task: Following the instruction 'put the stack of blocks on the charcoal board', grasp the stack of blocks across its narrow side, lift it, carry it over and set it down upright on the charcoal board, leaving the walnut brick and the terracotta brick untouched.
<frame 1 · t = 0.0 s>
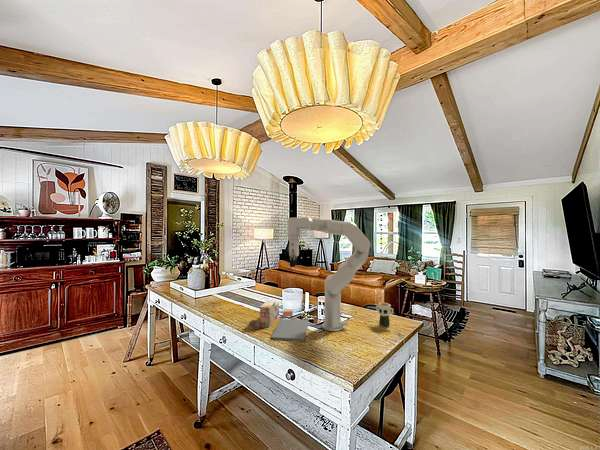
hand: (293, 265, 161), 37 cm above the table, tool pointing down, fingers open, 9 cm apart
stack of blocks: (270, 321, 169), on the table
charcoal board: (291, 330, 154), on the table
beige and green figurine: (384, 325, 163), on the table
terracotta brick: (287, 316, 178), on the table
walnut brick: (255, 327, 157), on the table
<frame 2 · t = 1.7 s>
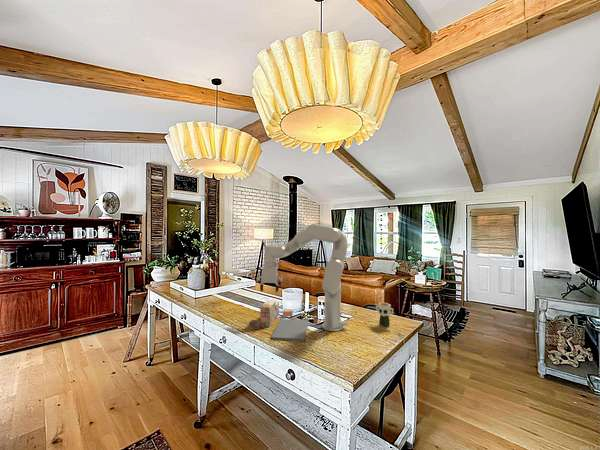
hand: (269, 291, 169), 19 cm above the table, tool pointing down, fingers open, 9 cm apart
nothing on the table moved.
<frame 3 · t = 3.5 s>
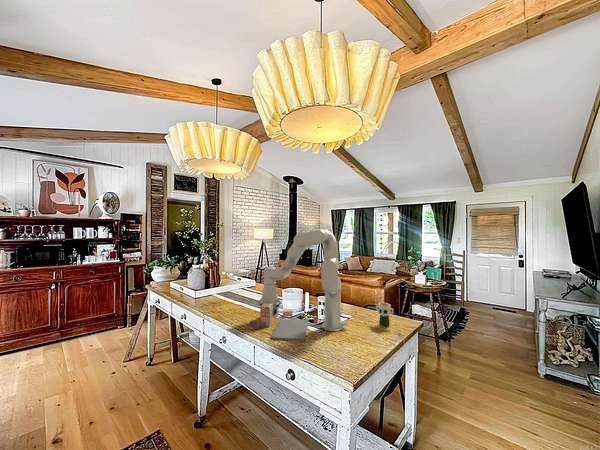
hand: (269, 314, 169), 4 cm above the table, tool pointing down, fingers closed on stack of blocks, 6 cm apart
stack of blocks: (269, 320, 169), on the table, touching gripper
everything else where it was.
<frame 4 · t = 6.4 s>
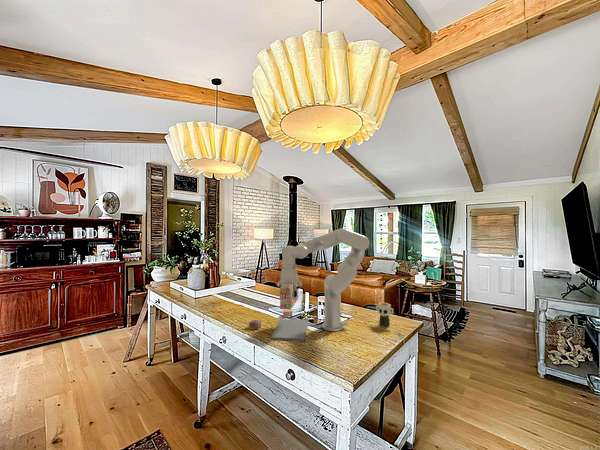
hand: (289, 296, 156), 19 cm above the table, tool pointing down, fingers closed on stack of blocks, 6 cm apart
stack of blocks: (289, 304, 157), point 14 cm above the table, touching gripper
everything else where it was.
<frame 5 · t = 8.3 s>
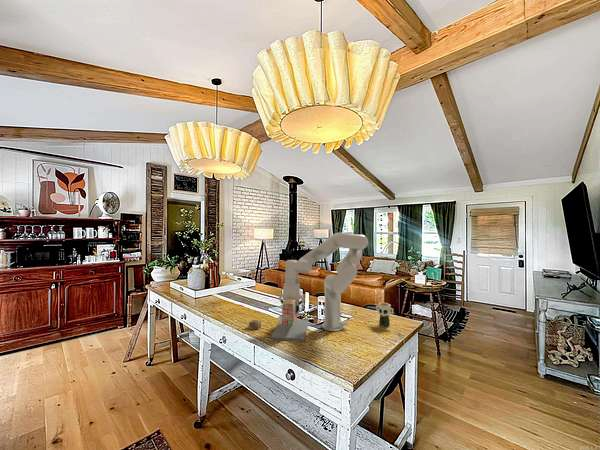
hand: (291, 311, 154), 11 cm above the table, tool pointing down, fingers closed on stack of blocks, 6 cm apart
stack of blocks: (291, 319, 155), point 6 cm above the table, touching gripper
everything else where it was.
when the fingers open (7 cm above the table, at t = 9.6 s): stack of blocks drops 1 cm, resting on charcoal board.
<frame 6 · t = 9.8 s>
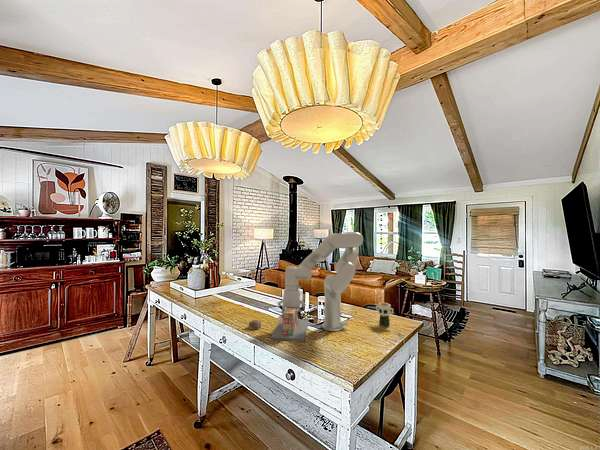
hand: (291, 317, 154), 7 cm above the table, tool pointing down, fingers open, 8 cm apart
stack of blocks: (291, 327, 155), point 1 cm above the table, touching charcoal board
everything else where it was.
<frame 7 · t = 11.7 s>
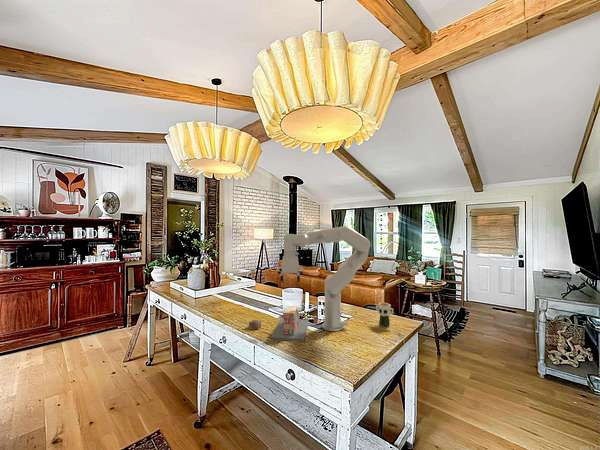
hand: (290, 282, 161), 27 cm above the table, tool pointing down, fingers open, 9 cm apart
nothing on the table moved.
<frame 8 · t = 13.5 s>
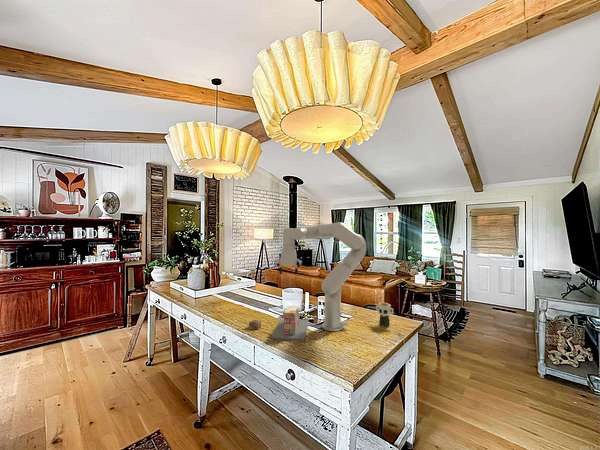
hand: (288, 274, 168), 30 cm above the table, tool pointing down, fingers open, 9 cm apart
nothing on the table moved.
at the end: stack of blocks inside the target area on the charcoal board (0.9 cm from its centre), point 1.0 cm above the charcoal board's base; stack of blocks tilted 0°; walnut brick moved 0.4 cm from its start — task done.
